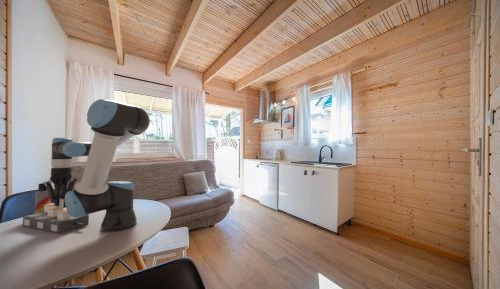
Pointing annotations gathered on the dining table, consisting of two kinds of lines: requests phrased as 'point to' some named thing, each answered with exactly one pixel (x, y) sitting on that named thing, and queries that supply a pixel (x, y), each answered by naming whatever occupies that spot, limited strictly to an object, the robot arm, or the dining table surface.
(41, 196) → the lotion bottle
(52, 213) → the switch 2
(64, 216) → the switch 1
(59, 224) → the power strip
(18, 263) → the dining table surface
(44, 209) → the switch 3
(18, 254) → the dining table surface
